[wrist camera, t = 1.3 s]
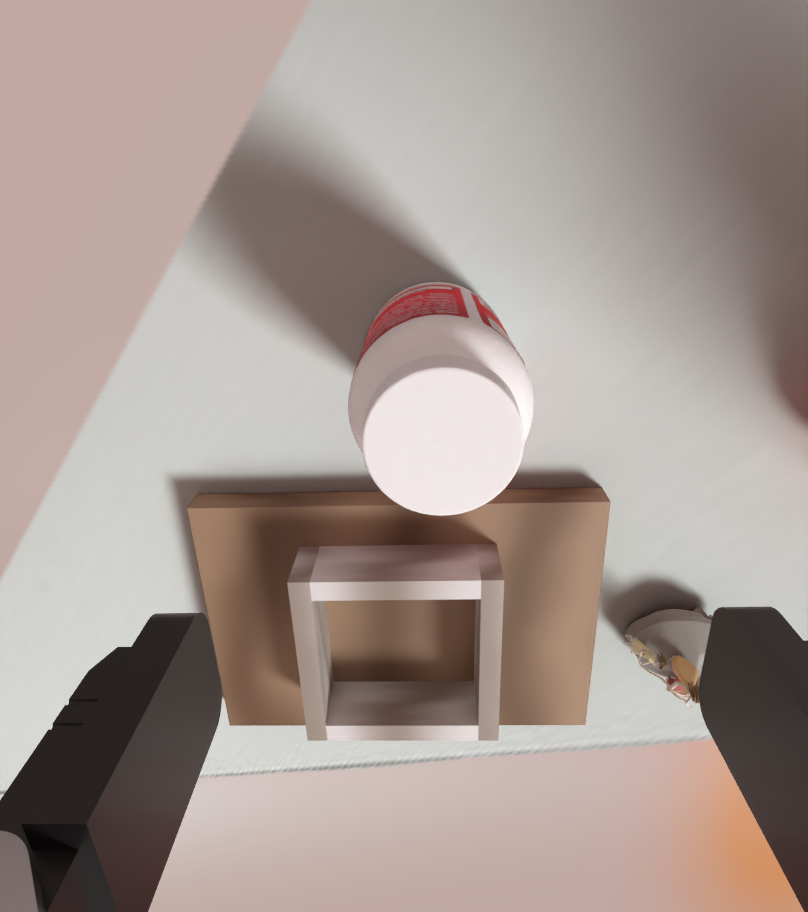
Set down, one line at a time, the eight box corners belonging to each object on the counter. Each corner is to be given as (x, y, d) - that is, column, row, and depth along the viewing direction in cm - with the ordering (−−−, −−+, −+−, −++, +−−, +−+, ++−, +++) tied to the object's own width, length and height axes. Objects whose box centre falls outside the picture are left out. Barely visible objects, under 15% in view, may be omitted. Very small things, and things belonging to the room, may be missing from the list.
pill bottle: (346, 382, 28) (303, 492, 18) (399, 255, 26) (385, 300, 16) (467, 434, 29) (490, 567, 19) (530, 316, 27) (593, 395, 17)
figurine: (730, 597, 32) (769, 684, 27) (714, 660, 34) (748, 754, 29) (625, 588, 33) (642, 670, 28) (615, 650, 35) (630, 739, 30)
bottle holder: (601, 487, 30) (630, 535, 26) (579, 704, 36) (599, 771, 32) (197, 494, 31) (163, 541, 27) (237, 705, 37) (213, 771, 33)
